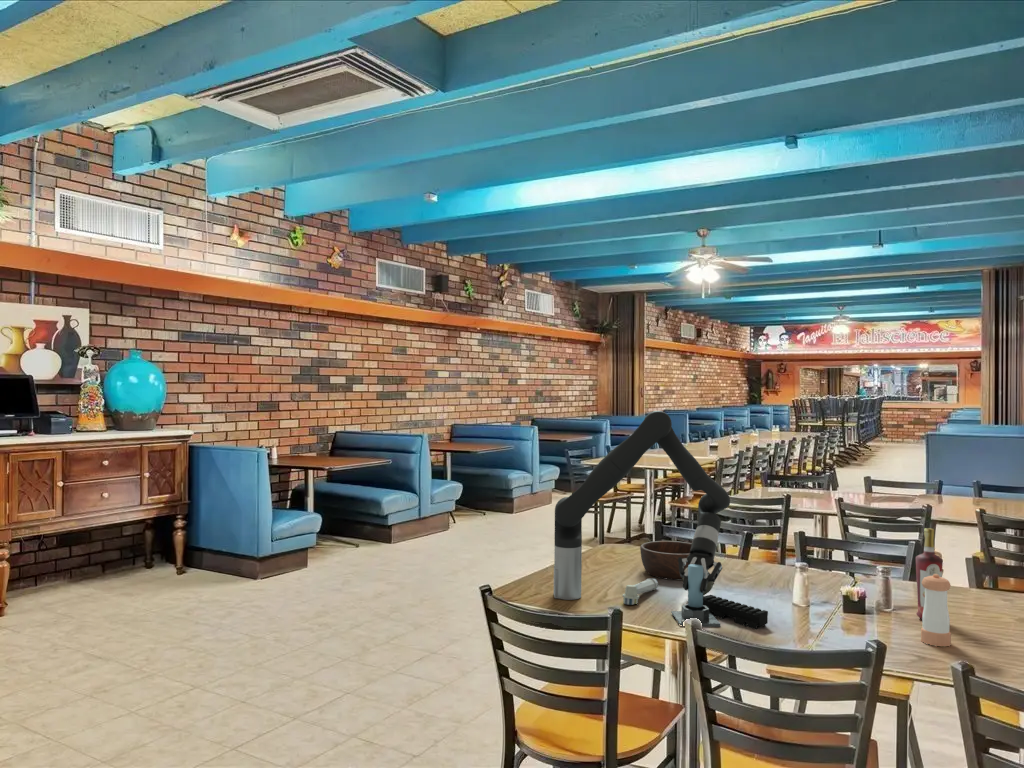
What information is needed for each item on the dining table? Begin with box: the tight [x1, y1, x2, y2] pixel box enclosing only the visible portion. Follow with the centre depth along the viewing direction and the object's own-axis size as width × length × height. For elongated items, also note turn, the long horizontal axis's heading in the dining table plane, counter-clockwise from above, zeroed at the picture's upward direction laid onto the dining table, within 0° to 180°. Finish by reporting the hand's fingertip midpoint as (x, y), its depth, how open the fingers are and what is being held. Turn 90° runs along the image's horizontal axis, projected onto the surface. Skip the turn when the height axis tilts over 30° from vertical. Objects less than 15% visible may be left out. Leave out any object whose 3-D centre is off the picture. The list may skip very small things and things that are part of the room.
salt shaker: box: [920, 574, 952, 647], centre depth 205 cm, size 7×7×19 cm
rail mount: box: [703, 594, 769, 630], centre depth 225 cm, size 21×6×5 cm, turn 35°
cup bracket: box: [670, 603, 721, 628], centre depth 223 cm, size 12×12×4 cm
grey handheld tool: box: [622, 577, 659, 606], centre depth 249 cm, size 5×7×25 cm
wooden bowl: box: [639, 540, 692, 580], centre depth 281 cm, size 25×25×10 cm
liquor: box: [915, 527, 944, 620], centre depth 226 cm, size 7×7×28 cm
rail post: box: [687, 564, 703, 607], centre depth 224 cm, size 4×4×12 cm
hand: (693, 590), depth 222 cm, fingers closed on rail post, 4 cm apart
